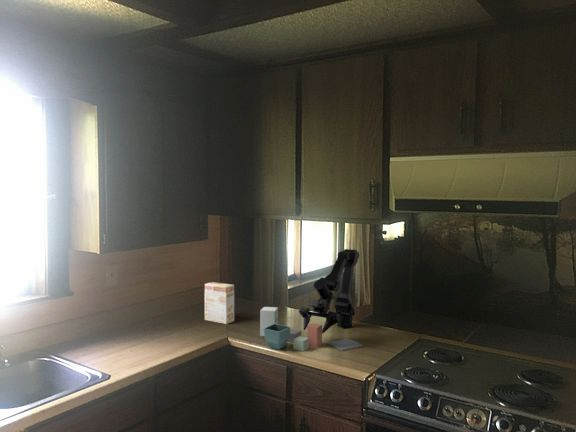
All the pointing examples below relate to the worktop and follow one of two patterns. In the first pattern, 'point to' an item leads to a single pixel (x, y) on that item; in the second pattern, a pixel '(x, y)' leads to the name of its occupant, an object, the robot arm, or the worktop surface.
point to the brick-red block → (314, 335)
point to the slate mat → (345, 344)
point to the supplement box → (268, 318)
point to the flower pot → (276, 335)
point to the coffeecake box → (219, 302)
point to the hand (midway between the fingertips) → (313, 331)
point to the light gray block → (293, 335)
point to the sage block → (301, 343)
